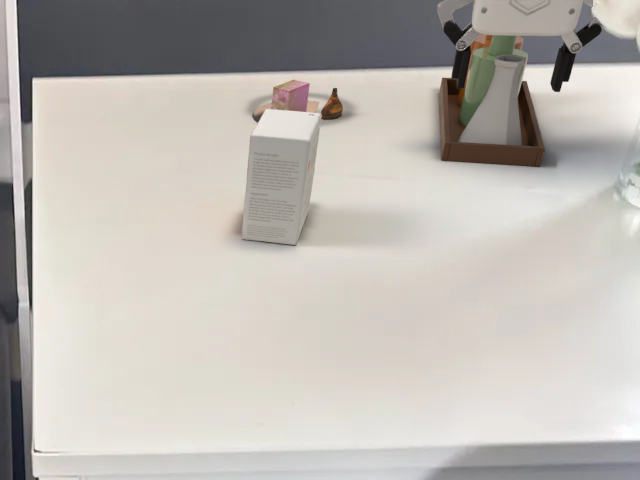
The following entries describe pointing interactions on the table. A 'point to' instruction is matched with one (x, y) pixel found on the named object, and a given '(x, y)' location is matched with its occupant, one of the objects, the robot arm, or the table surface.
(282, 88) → the plate of sweets
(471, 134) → the flask
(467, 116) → the green bottle
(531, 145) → the tray
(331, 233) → the table surface
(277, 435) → the table surface
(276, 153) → the small box
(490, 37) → the amber bottle
